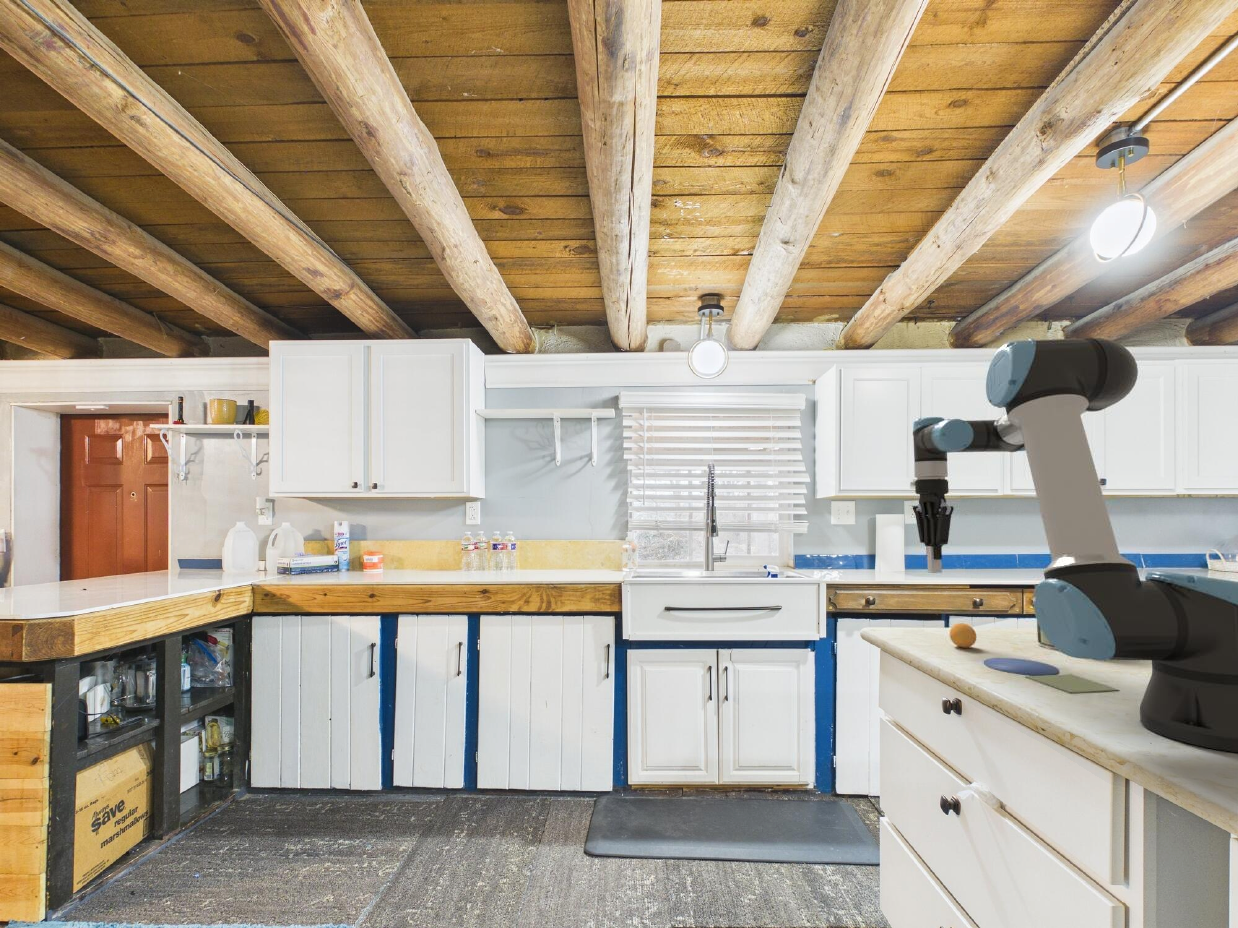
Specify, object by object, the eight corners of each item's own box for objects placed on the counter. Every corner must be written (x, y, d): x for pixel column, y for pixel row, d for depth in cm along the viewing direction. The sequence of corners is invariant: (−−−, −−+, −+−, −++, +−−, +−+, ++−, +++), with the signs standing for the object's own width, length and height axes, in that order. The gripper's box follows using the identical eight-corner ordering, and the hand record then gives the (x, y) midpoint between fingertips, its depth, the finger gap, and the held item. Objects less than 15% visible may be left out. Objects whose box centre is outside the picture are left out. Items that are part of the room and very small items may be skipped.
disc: (1072, 677, 118) (1072, 676, 118) (997, 673, 121) (997, 672, 121) (1041, 660, 131) (1041, 659, 131) (974, 657, 134) (974, 656, 134)
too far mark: (1119, 690, 110) (1119, 689, 110) (1070, 693, 108) (1070, 692, 108) (1071, 675, 120) (1071, 674, 120) (1025, 677, 118) (1025, 676, 118)
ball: (980, 650, 139) (979, 626, 140) (954, 649, 141) (953, 625, 141) (972, 645, 145) (971, 621, 145) (946, 644, 146) (946, 620, 146)
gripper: (962, 477, 149) (966, 575, 147) (928, 479, 162) (931, 569, 160) (934, 477, 148) (938, 575, 146) (902, 479, 161) (905, 569, 159)
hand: (934, 572), depth 153 cm, fingers closed
